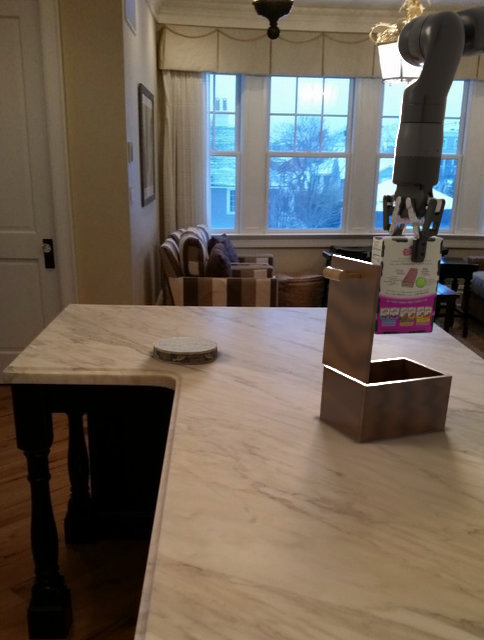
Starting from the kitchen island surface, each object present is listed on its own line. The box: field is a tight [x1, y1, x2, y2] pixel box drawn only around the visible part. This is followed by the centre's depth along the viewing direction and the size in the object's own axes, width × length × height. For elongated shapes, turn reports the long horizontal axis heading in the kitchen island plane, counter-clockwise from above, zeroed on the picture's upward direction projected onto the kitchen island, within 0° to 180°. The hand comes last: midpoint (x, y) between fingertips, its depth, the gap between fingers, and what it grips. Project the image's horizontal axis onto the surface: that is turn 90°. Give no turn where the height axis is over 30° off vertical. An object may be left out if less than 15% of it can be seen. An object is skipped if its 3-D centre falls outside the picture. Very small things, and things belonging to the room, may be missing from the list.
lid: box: [321, 254, 382, 384], centre depth 120 cm, size 19×14×5 cm
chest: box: [319, 357, 453, 444], centre depth 130 cm, size 19×14×11 cm
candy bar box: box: [370, 235, 444, 335], centre depth 123 cm, size 11×5×16 cm, turn 102°
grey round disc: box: [152, 336, 218, 365], centre depth 175 cm, size 16×16×3 cm
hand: (406, 259), depth 122 cm, fingers closed on candy bar box, 5 cm apart
